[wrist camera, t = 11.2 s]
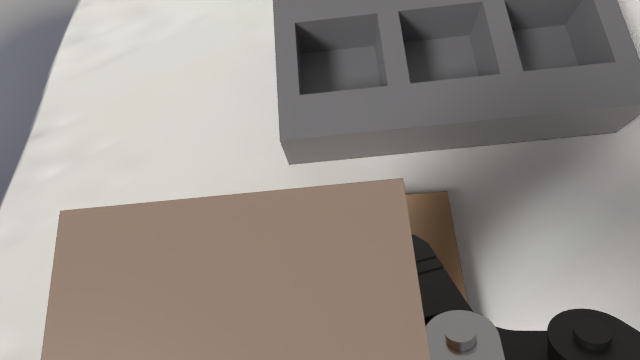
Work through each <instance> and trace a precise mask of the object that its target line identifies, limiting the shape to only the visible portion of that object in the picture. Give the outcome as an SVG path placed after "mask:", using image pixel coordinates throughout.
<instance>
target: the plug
mask: <svg viewBox="0 0 640 360" xmlns="http://www.w3.org/2000/svg"><path fill="white" fill-rule="evenodd" d="M41 360H430V354H429V347H428V341H427V334H426V327H425V321H424V314H423V308H422V301H421V294H420V288H419V281H418V275H417V268H416V261H415V255H414V248H413V242H412V235H411V228H410V222H409V215H408V209H407V202H406V196H405V189H404V182H403V178H399V179H389V180H378V181H368V182H357V183H347V184H336V185H326V186H315V187H305V188H294V189H284V190H273V191H263V192H252V193H242V194H232V195H221V196H211V197H200V198H190V199H179V200H169V201H158V202H148V203H137V204H127V205H116V206H106V207H95V208H85V209H74V210H64V211H60V215H59V222H58V230H57V238H56V246H55V253H54V261H53V269H52V277H51V284H50V292H49V300H48V308H47V315H46V323H45V331H44V339H43V346H42V354H41Z"/></svg>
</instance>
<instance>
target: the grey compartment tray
mask: <svg viewBox="0 0 640 360" xmlns="http://www.w3.org/2000/svg"><path fill="white" fill-rule="evenodd" d="M273 12H274V32H275V52H276V72H277V92H278V112H279V132H280V142H281V145H282V147H283V150H284V152H285V155H286V158H287V160H288V163H289V165H291V164H301V163H311V162H321V161H332V160H342V159H352V158H362V157H372V156H383V155H393V154H403V153H413V152H423V151H434V150H444V149H454V148H464V147H474V146H485V145H495V144H505V143H515V142H525V141H536V140H546V139H556V138H566V137H576V136H587V135H597V134H607V133H616V132H617V131H619V130H620V129H621V128H623V127H624V126H625V125H627V124H628V123H630V122H631V121H632V120H634V119H635V118H636V117H638V116H639V115H640V60H639V57H638V55H637V52H636V49H635V47H634V44H633V41H632V39H631V36H630V33H629V31H628V28H627V26H626V23H625V20H624V18H623V15H622V12H621V10H620V7H619V4H618V2H617V0H273Z"/></svg>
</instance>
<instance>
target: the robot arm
mask: <svg viewBox="0 0 640 360" xmlns="http://www.w3.org/2000/svg"><path fill="white" fill-rule="evenodd" d="M412 242H413V248H414V255H415V261H416V268H417V275H418V281H419V288H420V294H421V301H422V308H423V314H424V321H425V327H426V334H427V341H428V347H429V354H430V360H640V332H639V331H637V330H636V329H634V328H632V327H631V326H629V325H628V324H626V323H624V322H623V321H621V320H619V319H617V318H616V317H614V316H611V315H609V314H607V313H604V312H600V311H596V310H591V309H572V310H567V311H563V312H561V313H559V314H557V315H556V316H555V317H553V318H552V320H551V321H550V323H549V325H548V329H547V331H514V330H506V329H502V328H498V327H495V326H494V325H493V324H492V322H491V321H489V320H488V319H487V318H485V317H483V316H482V315H480V314H477V313H474V312H473V311H472V309H471V308H470V306H469V305H468V303H467V302H466V300H465V299H464V297H463V296H462V294H461V293H460V291H459V289H458V288H457V286H456V285H455V283H454V282H453V280H452V279H451V277H450V276H449V274H448V273H447V271H446V269H444V267H443V265H442V263H441V262H440V260H439V259H438V258H437V256H436V254H435V253H434V251H433V249H432V248H431V246H430V245H429V243H427V242H426V241H424V240H422V239H421V238H419V237H417V236H416V235H414V234H412Z"/></svg>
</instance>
